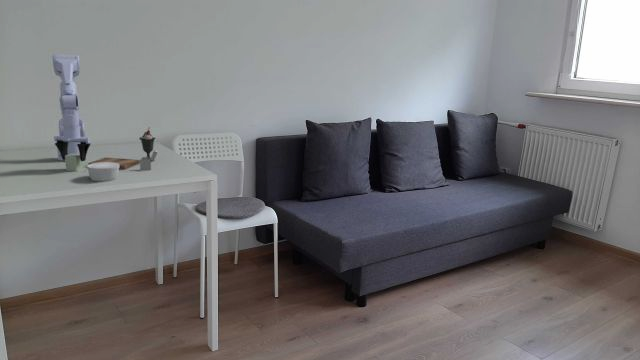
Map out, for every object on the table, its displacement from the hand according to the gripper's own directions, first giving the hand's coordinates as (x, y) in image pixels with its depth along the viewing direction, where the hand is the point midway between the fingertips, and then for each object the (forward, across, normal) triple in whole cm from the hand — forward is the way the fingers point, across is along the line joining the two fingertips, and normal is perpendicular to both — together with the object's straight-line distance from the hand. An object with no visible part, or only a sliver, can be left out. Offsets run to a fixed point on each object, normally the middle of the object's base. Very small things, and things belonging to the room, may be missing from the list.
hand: (74, 160), depth 199 cm
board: (+4, +10, +12) cm, 16 cm away
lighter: (+4, +27, +9) cm, 29 cm away
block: (+4, 0, 0) cm, 4 cm away
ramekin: (+4, +18, -9) cm, 20 cm away
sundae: (+4, +19, +24) cm, 31 cm away
